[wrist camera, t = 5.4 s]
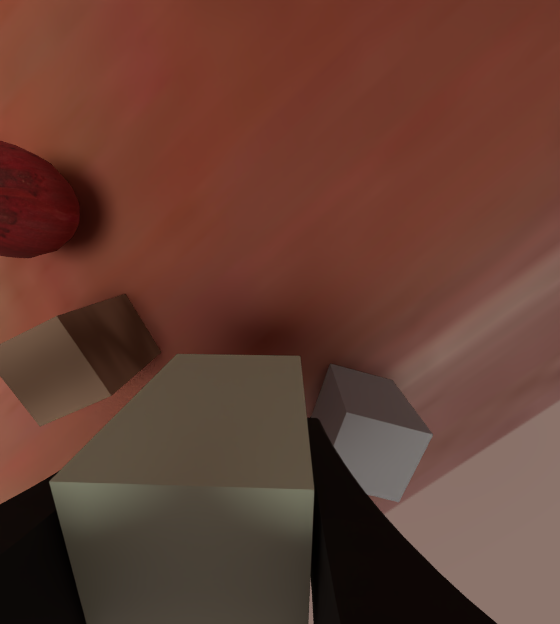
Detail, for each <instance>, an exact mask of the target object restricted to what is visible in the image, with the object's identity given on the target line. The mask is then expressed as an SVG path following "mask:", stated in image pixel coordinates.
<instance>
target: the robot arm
mask: <svg viewBox="0 0 560 624" xmlns="http://www.w3.org/2000/svg"><path fill="white" fill-rule="evenodd" d="M307 424H308V434H309V444H310V453H311V463H312V472H313V482H314V508H313V530H312V552H311V574H310V577H311V587H312V602H313V618H314V619H313V620H314V624H497V623H496V622H495V621H493V620H492V619H491V618H490V617H489V616H487V615H486V614H485V613H484V612H483V611H482V610H480V609H479V608H478V607H477V606H476V605H474V604H473V603H472V602H471V601H470V600H469V599H467V598H466V597H465V596H464V595H463V594H462V593H461V592H460V591H459V590H458V589H456V588H455V587H454V586H453V585H452V584H451V583H450V582H449V581H448V580H447V579H446V578H444V577H443V576H442V575H441V574H440V573H439V572H438V571H437V570H436V569H435V568H434V567H433V566H432V565H431V564H430V563H429V562H428V561H427V560H426V559H425V558H424V557H423V556H422V555H421V554H420V553H419V552H418V551H417V550H416V549H415V548H414V547H413V546H412V545H411V544H410V543H409V542H408V541H407V540H406V539H405V538H404V537H403V535H402V534H401V533H400V532H399V531H398V530H397V529H396V528H395V527H394V526H393V524H392V523H391V522H390V521H389V520H388V519H387V518H386V517H385V515H384V514H383V513H382V512H381V511H380V510H379V508H378V507H377V506H376V505H375V504H374V502H373V501H372V500H371V499H370V497H369V496H368V495H367V494H366V492H365V491H364V490H363V488H362V487H361V486H360V484H359V483H358V482H357V480H356V479H355V478H354V476H353V475H352V474H351V472H350V471H349V469H348V468H347V466H346V465H345V463H344V462H343V460H342V459H341V457H340V456H339V454H338V453H337V451H336V449H335V448H334V446H333V444H332V443H331V441H330V439H329V437H328V436H327V434H326V432H325V430H324V428H323V426H322V424H321V422H320V420H319V419H318V418H307ZM58 472H59V471H58ZM58 472H57V473H58ZM57 473H55V474H54V475H52V476H50V477H48V478H47V479H45V480H43V481H42V482H40V483H38V484H36V485H35V486H33V487H31V488H29V489H28V490H26V491H24V492H22V493H20V494H18V495H17V496H15V497H13V498H11V499H9V500H7V501H6V502H4V503H2V504H0V624H86V620H85V616H84V612H83V609H82V605H81V601H80V597H79V593H78V590H77V586H76V582H75V578H74V574H73V571H72V567H71V563H70V559H69V555H68V552H67V548H66V544H65V540H64V537H63V533H62V529H61V525H60V521H59V518H58V514H57V510H56V506H55V502H54V499H53V495H52V491H51V487H50V483H49V481H50V480H51V479H52V478H53V477H54V476H55V475H56V474H57Z"/></svg>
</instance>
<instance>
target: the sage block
mask: <svg viewBox="0 0 560 624" xmlns="http://www.w3.org/2000/svg"><path fill="white" fill-rule="evenodd" d="M49 483H50V487H51V491H52V495H53V499H54V502H55V506H56V510H57V514H58V518H59V521H60V525H61V529H62V533H63V537H64V540H65V544H66V548H67V552H68V555H69V559H70V563H71V567H72V571H73V574H74V578H75V582H76V586H77V590H78V593H79V597H80V601H81V605H82V609H83V612H84V616H85V620H86V624H308V619H309V596H310V574H311V552H312V530H313V508H314V482H313V472H312V463H311V453H310V444H309V434H308V424H307V415H306V405H305V396H304V386H303V377H302V367H301V358H300V356H278V355H216V354H176V355H175V356H174V357H173V358H172V359H171V360H170V361H169V362H168V363H167V364H166V365H165V366H164V367H163V368H162V369H161V370H160V371H159V372H158V373H157V374H156V375H155V376H154V377H153V378H152V379H151V380H150V381H149V382H148V383H147V384H146V385H145V386H144V387H143V388H142V389H141V390H140V391H139V392H138V393H137V394H136V395H135V396H134V397H133V398H132V399H131V400H130V401H129V402H128V403H127V404H126V405H125V406H124V407H123V408H122V409H121V410H120V411H119V412H118V413H117V414H116V415H115V416H114V417H113V418H112V419H111V420H110V421H109V422H108V423H107V424H106V425H105V426H104V427H103V428H102V429H101V430H100V431H99V432H98V433H97V434H96V435H95V436H94V437H93V438H92V439H91V440H90V441H89V442H88V443H87V444H86V445H85V446H84V447H83V448H82V449H81V450H80V451H79V452H78V453H77V454H76V455H75V456H74V457H73V458H72V459H71V460H70V461H69V462H68V463H67V464H66V465H65V466H64V467H63V468H62V469H61V470H60V471H59V472H58V473H57V474H56V475H55V476H54V477H53V478H52V479H51V480H50V481H49Z"/></svg>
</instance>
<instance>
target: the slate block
mask: <svg viewBox="0 0 560 624" xmlns="http://www.w3.org/2000/svg"><path fill="white" fill-rule="evenodd" d="M311 418H318V419H319V420H320V422H321V424H322V426H323V428H324V430H325V432H326V434H327V436H328V437H329V439H330V441H331V443H332V444H333V446H334V448H335V449H336V451H337V453H338V454H339V456H340V457H341V459H342V460H343V462H344V463H345V465H346V466H347V468H348V469H349V471H350V472H351V474H352V475H353V476H354V478H355V479H356V480H357V482H358V483H359V484H360V486H361V487H362V488H363V490H364V491H365V492H366V494H367V495H372V496H376V497H380V498H384V499H388V500H392V501H396V502H399V501H400V499H401V497H402V495H403V493H404V491H405V489H406V487H407V485H408V483H409V481H410V479H411V477H412V475H413V473H414V471H415V469H416V467H417V465H418V463H419V461H420V459H421V457H422V455H423V454H424V452H425V450H426V448H427V446H428V444H429V442H430V440H431V438H432V436H433V434H432V433H431V431H430V430H429V429H428V427H427V426H426V424H425V423H424V422H423V420H422V419H421V418H420V416H419V415H418V414H417V412H416V411H415V410H414V408H413V407H412V406H411V404H410V403H409V402H408V400H407V399H406V398H405V396H404V395H403V394H402V392H401V391H400V390H399V388H398V387H397V386H396V384H395V383H394V382H393V380H390V379H386V378H382V377H379V376H375V375H371V374H367V373H364V372H360V371H356V370H352V369H349V368H345V367H341V366H337V365H334V364H330V365H329V368H328V371H327V374H326V376H325V379H324V382H323V385H322V388H321V390H320V393H319V396H318V399H317V402H316V405H315V407H314V410H313V413H312V416H311Z"/></svg>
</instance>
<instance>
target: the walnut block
mask: <svg viewBox="0 0 560 624" xmlns="http://www.w3.org/2000/svg"><path fill="white" fill-rule="evenodd" d="M160 353H161V351H160V349H159V348H158V346H157V345H156V343H155V341H154V340H153V338H152V336H151V335H150V333H149V331H148V330H147V328H146V327H145V325H144V323H143V322H142V320H141V318H140V317H139V315H138V313H137V312H136V310H135V309H134V307H133V305H132V304H131V302H130V300H129V299H128V297H127V295H126V294H123V295H120V296H117V297H114V298H111V299H108V300H105V301H102V302H98V303H95V304H92V305H89V306H86V307H83V308H80V309H77V310H74V311H71V312H68V313H65V314H62V315H58V316H56V317H54V318H52V319H50V320H48V321H46V322H44V323H42V324H40V325H38V326H36V327H34V328H32V329H30V330H28V331H26V332H24V333H22V334H20V335H18V336H16V337H14V338H12V339H10V340H8V341H6V342H4V343H2V344H0V376H1V378H2V379H3V380H4V381H5V383H6V384H7V385H8V386H9V388H10V389H11V390H12V392H13V393H14V394H15V395H16V397H17V398H18V399H19V400H20V402H21V403H22V404H23V406H24V407H25V408H26V409H27V411H28V412H29V413H30V414H31V416H32V417H33V418H34V420H35V421H36V422H37V423H38V425H39V426H42V425H45V424H47V423H49V422H52V421H54V420H56V419H59V418H61V417H63V416H66V415H68V414H70V413H73V412H75V411H77V410H80V409H82V408H84V407H86V406H89V405H91V404H93V403H96V402H98V401H100V400H103V399H105V398H107V397H110V396H112V395H113V394H114V393H115V392H116V391H117V390H119V389H120V388H121V387H122V386H123V385H124V384H125V383H127V382H128V381H129V380H130V379H131V378H132V377H133V376H135V375H136V374H137V373H138V372H139V371H140V370H141V369H143V368H144V367H145V366H146V365H147V364H148V363H149V362H150V361H152V360H153V359H154V358H155V357H156V356H157V355H158V354H160Z"/></svg>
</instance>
